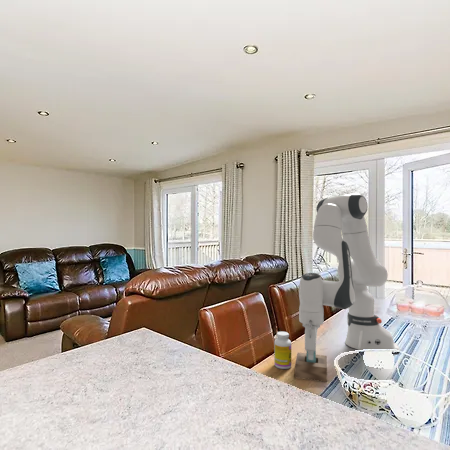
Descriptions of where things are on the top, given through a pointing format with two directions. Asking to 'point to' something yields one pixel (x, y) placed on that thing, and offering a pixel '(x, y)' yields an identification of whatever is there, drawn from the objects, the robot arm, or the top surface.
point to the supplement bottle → (282, 351)
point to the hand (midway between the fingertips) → (311, 354)
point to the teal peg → (313, 357)
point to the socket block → (311, 368)
